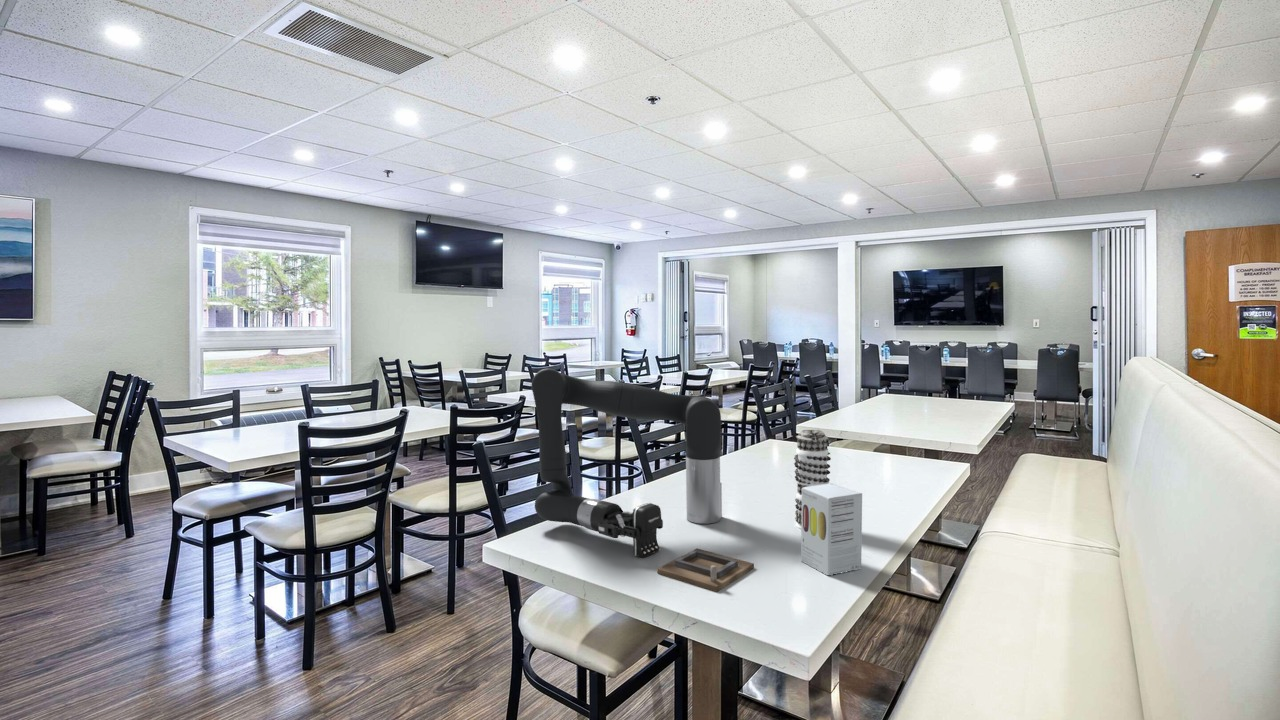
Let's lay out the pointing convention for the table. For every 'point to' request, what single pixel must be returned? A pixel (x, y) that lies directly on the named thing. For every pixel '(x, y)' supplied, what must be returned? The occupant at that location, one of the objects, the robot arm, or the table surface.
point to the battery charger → (646, 529)
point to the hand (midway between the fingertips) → (650, 529)
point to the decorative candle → (810, 464)
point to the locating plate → (706, 569)
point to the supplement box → (831, 528)
